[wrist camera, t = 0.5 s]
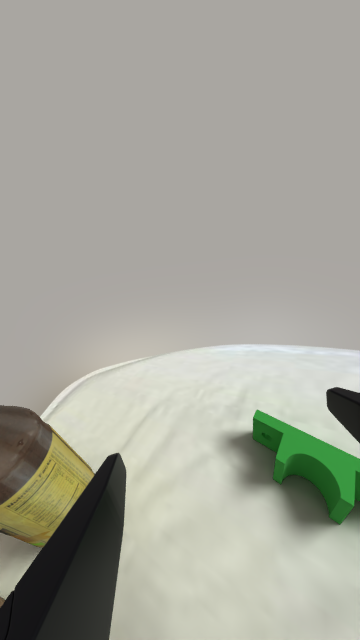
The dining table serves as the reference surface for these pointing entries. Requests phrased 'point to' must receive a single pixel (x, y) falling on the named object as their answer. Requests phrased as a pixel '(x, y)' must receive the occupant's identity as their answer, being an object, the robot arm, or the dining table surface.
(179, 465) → the dining table surface
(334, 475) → the pipe clamp
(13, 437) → the sauce bottle
